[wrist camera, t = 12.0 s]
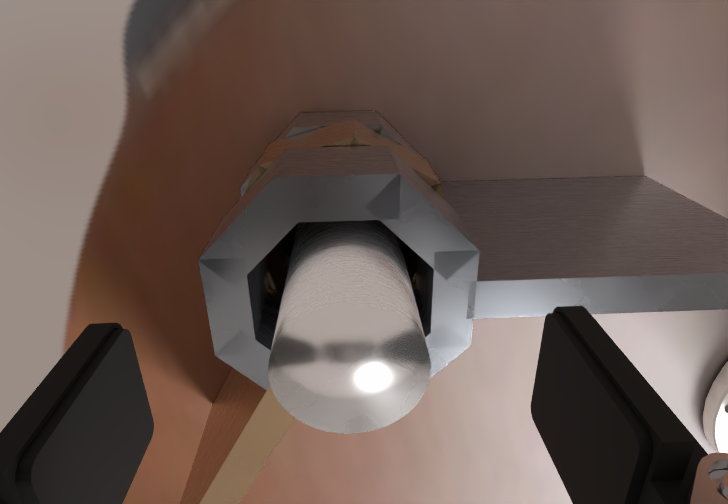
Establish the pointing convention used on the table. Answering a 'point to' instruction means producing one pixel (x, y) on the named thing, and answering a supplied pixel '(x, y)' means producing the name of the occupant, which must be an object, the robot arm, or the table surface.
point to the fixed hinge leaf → (463, 243)
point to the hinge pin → (348, 330)
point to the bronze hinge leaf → (239, 393)
